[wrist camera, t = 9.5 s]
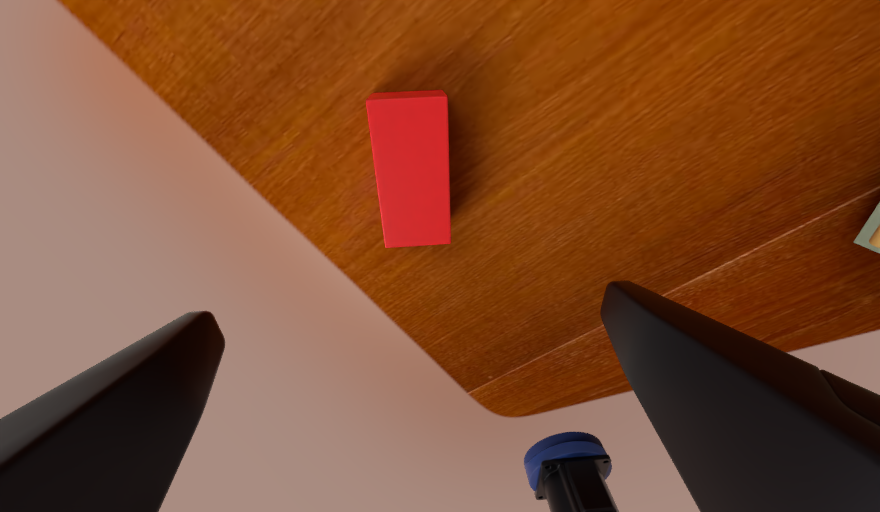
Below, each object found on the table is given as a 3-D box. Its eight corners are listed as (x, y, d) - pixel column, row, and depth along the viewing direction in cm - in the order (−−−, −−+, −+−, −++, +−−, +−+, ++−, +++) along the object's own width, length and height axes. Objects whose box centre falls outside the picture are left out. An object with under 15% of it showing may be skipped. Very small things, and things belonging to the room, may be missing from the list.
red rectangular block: (446, 222, 20) (451, 244, 18) (388, 226, 20) (385, 248, 18) (443, 89, 17) (447, 95, 14) (371, 92, 16) (365, 99, 14)
